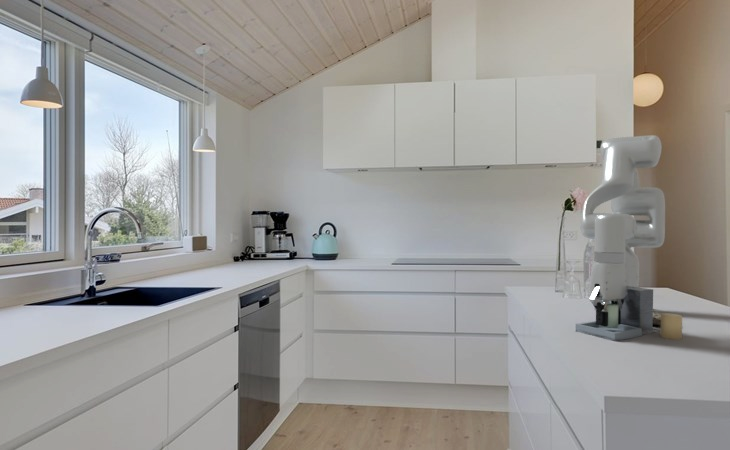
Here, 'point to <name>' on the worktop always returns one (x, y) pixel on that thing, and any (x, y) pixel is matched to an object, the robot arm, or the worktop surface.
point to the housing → (638, 309)
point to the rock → (656, 318)
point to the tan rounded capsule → (671, 326)
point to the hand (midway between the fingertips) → (608, 323)
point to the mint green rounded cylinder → (612, 315)
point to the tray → (609, 331)
